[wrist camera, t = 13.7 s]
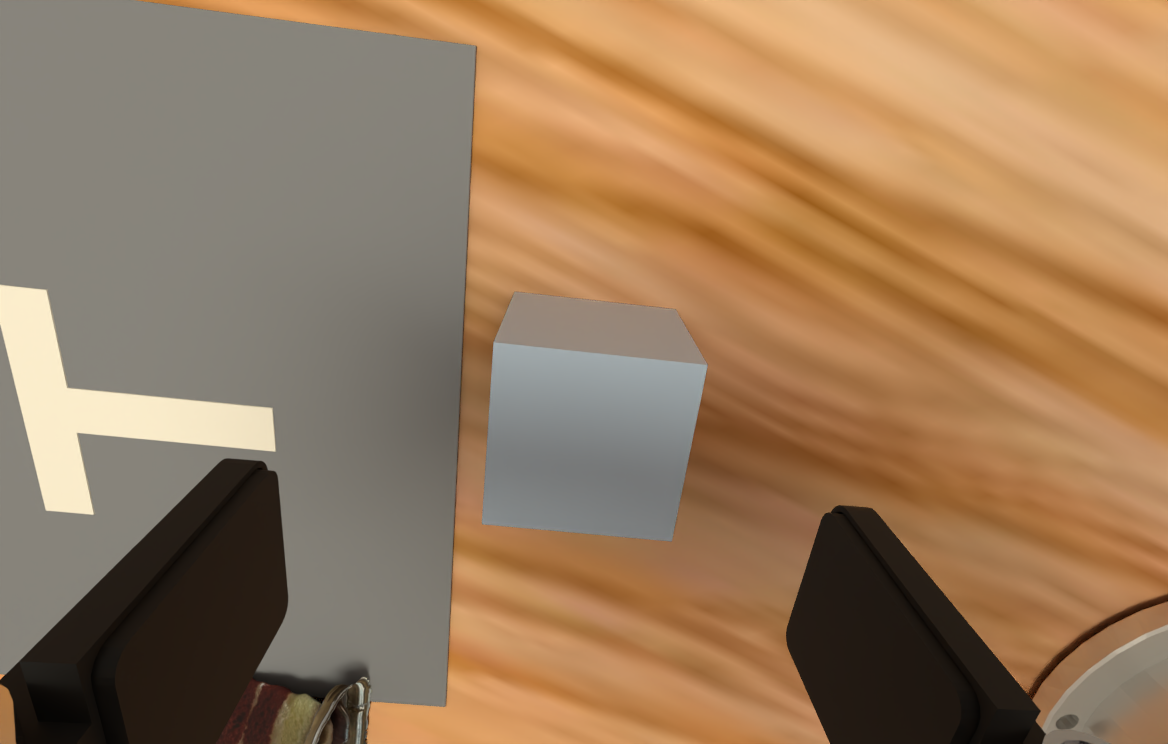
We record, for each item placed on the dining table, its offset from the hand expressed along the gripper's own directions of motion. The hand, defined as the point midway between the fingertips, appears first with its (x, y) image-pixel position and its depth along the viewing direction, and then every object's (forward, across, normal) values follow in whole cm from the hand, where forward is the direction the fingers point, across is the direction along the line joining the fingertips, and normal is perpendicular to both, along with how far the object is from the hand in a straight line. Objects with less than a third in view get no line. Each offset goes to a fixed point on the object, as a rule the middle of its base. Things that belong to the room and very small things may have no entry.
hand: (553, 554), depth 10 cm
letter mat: (+10, +13, +4) cm, 17 cm away
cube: (+10, -1, 0) cm, 10 cm away
